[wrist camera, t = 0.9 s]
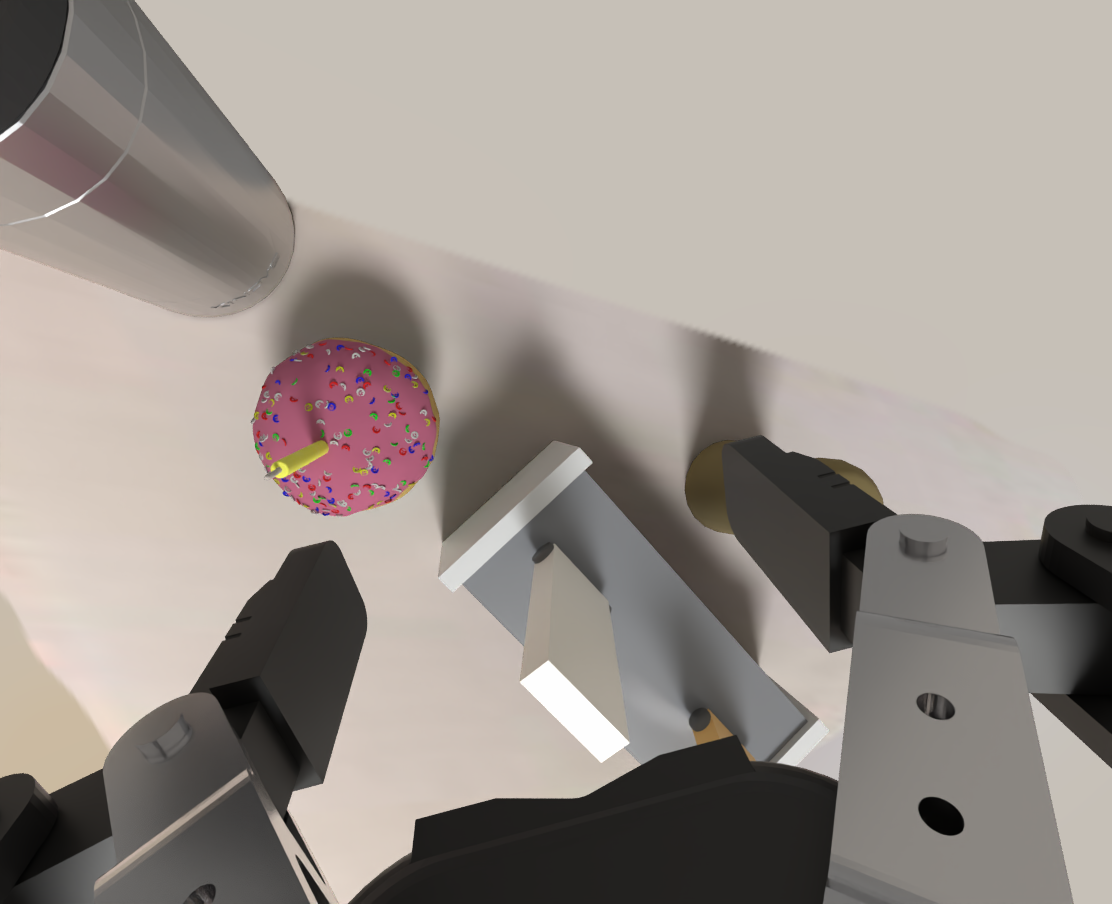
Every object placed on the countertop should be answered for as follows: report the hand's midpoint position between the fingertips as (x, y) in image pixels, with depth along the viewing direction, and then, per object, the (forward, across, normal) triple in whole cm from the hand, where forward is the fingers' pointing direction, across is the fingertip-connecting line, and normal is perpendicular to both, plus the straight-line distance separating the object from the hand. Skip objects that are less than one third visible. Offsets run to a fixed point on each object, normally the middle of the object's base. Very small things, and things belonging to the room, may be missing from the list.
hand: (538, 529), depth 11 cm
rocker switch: (+12, 0, +10) cm, 16 cm away
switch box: (+17, -2, +18) cm, 25 cm away
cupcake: (+21, +9, +3) cm, 23 cm away
